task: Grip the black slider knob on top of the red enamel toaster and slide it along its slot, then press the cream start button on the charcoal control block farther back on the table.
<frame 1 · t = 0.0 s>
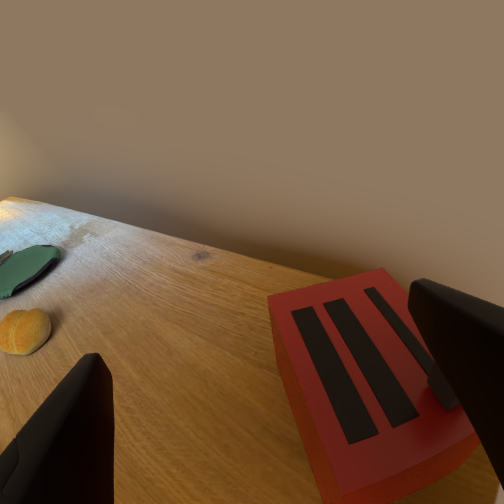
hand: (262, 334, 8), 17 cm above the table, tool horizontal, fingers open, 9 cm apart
bread roll: (28, 339, 35), on the table
toaster: (361, 416, 22), on the table
slider: (461, 363, 13), point 11 cm above the table, slide at 0.0 cm
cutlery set: (11, 274, 55), on the table
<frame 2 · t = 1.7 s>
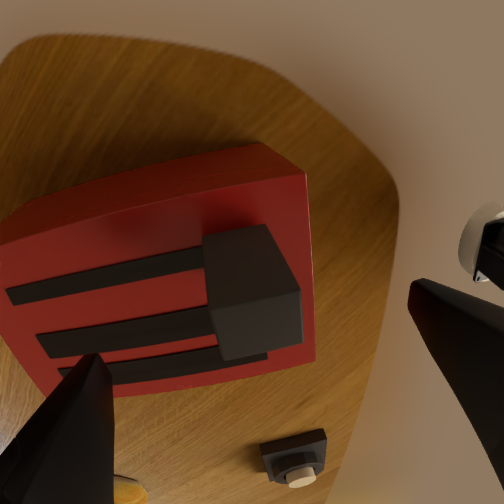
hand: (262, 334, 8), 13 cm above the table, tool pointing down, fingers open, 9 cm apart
bread roll: (121, 484, 36), on the table
toaster: (151, 243, 20), on the table
slider: (247, 283, 10), point 10 cm above the table, slide at 0.0 cm
start button: (300, 477, 33), point 4 cm above the table, slide at 0.1 cm
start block: (293, 452, 37), on the table
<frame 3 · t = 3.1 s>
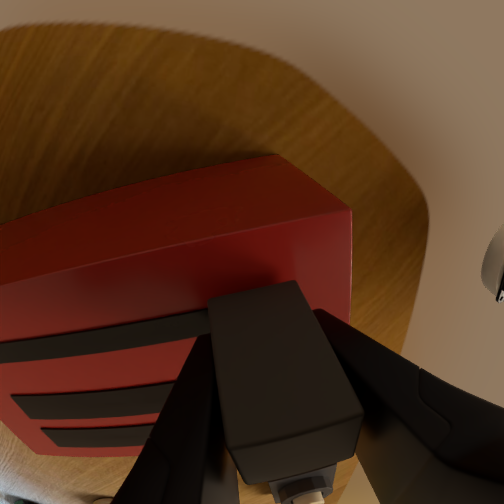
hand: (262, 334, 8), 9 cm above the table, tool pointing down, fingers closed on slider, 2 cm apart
toaster: (144, 274, 17), on the table
slider: (274, 375, 7), point 10 cm above the table, slide at 0.0 cm, touching gripper
start button: (308, 501, 30), point 4 cm above the table, slide at 0.1 cm
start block: (300, 476, 33), on the table
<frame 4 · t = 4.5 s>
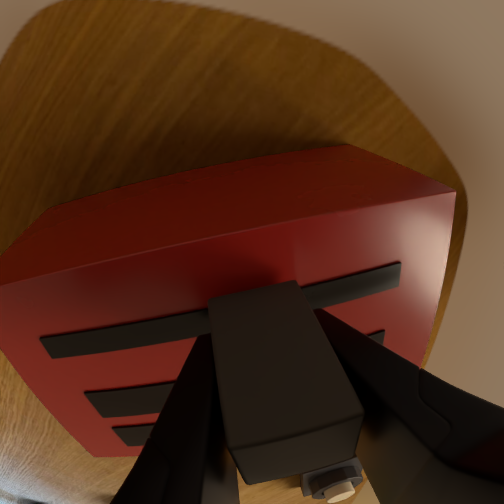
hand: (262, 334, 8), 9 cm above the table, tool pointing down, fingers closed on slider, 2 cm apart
toaster: (213, 260, 17), on the table
slider: (274, 375, 7), point 11 cm above the table, slide at 3.9 cm, touching gripper
start button: (339, 491, 30), point 4 cm above the table, slide at 0.1 cm
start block: (329, 467, 34), on the table
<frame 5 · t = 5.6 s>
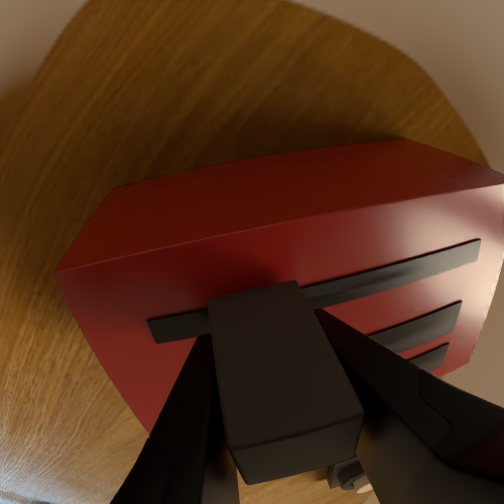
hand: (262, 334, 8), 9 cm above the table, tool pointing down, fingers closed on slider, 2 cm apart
toaster: (283, 245, 18), on the table
slider: (275, 375, 7), point 10 cm above the table, slide at 7.7 cm, touching gripper
start button: (367, 481, 31), point 4 cm above the table, slide at 0.1 cm
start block: (357, 458, 34), on the table
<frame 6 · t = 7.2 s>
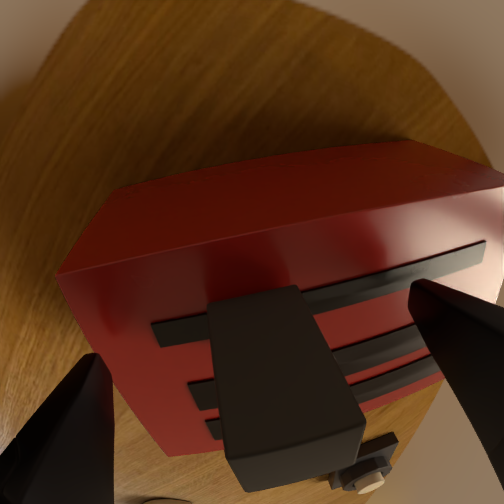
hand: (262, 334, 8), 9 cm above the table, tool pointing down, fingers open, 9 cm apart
toaster: (287, 246, 17), on the table
slider: (274, 382, 7), point 11 cm above the table, slide at 7.9 cm
start button: (369, 482, 30), point 4 cm above the table, slide at 0.1 cm
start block: (359, 458, 34), on the table
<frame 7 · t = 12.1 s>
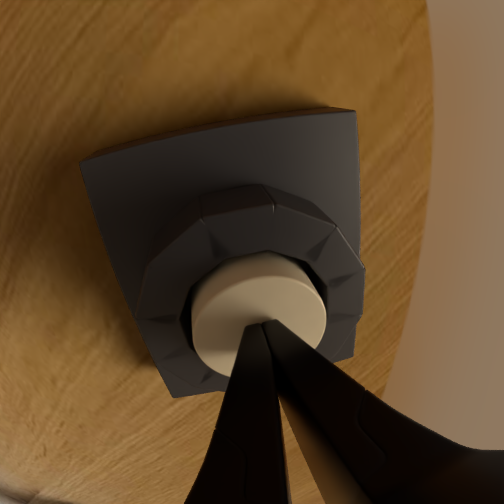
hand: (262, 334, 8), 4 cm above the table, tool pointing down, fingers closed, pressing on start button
start button: (255, 315, 9), point 3 cm above the table, slide at -0.6 cm, touching gripper
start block: (239, 260, 12), on the table
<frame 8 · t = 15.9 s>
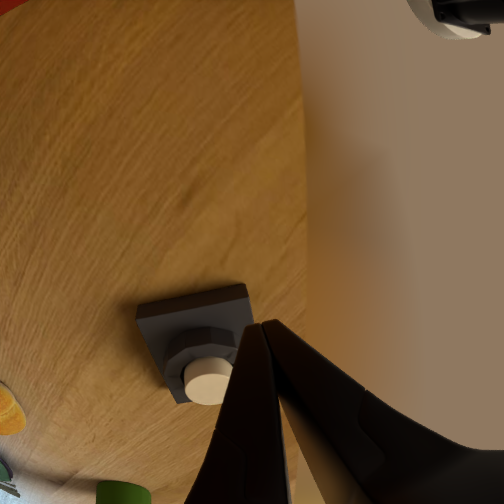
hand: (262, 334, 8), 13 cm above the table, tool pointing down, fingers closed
start button: (209, 381, 22), point 4 cm above the table, slide at 0.1 cm
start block: (205, 344, 25), on the table
wine bottle: (123, 489, 38), on the table
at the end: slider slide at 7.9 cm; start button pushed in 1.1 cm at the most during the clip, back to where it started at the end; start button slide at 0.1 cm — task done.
